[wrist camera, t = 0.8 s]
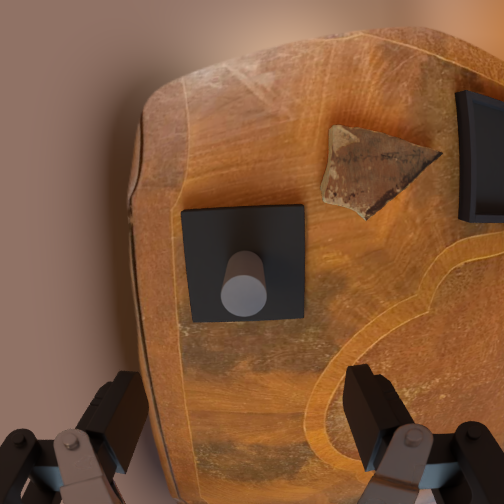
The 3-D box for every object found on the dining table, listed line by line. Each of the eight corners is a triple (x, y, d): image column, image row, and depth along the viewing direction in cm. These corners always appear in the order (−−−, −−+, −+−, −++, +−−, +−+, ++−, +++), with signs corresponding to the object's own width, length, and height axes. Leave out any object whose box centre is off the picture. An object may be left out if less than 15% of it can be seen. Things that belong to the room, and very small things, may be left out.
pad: (183, 209, 26) (159, 224, 19) (302, 204, 26) (320, 217, 19) (194, 316, 28) (179, 360, 22) (302, 312, 28) (316, 355, 21)
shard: (435, 152, 24) (445, 152, 23) (421, 230, 26) (431, 234, 25) (329, 122, 24) (334, 119, 22) (315, 210, 26) (320, 213, 24)
